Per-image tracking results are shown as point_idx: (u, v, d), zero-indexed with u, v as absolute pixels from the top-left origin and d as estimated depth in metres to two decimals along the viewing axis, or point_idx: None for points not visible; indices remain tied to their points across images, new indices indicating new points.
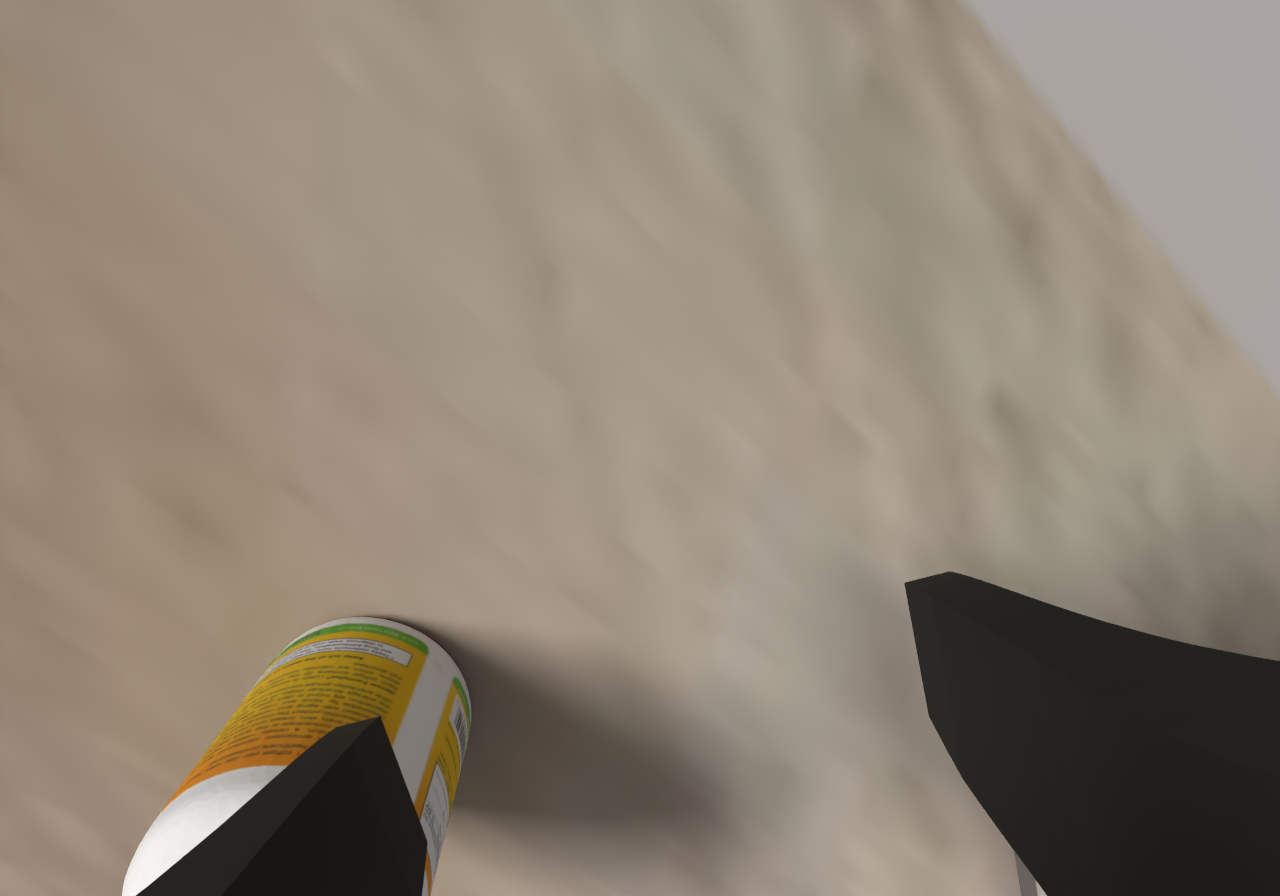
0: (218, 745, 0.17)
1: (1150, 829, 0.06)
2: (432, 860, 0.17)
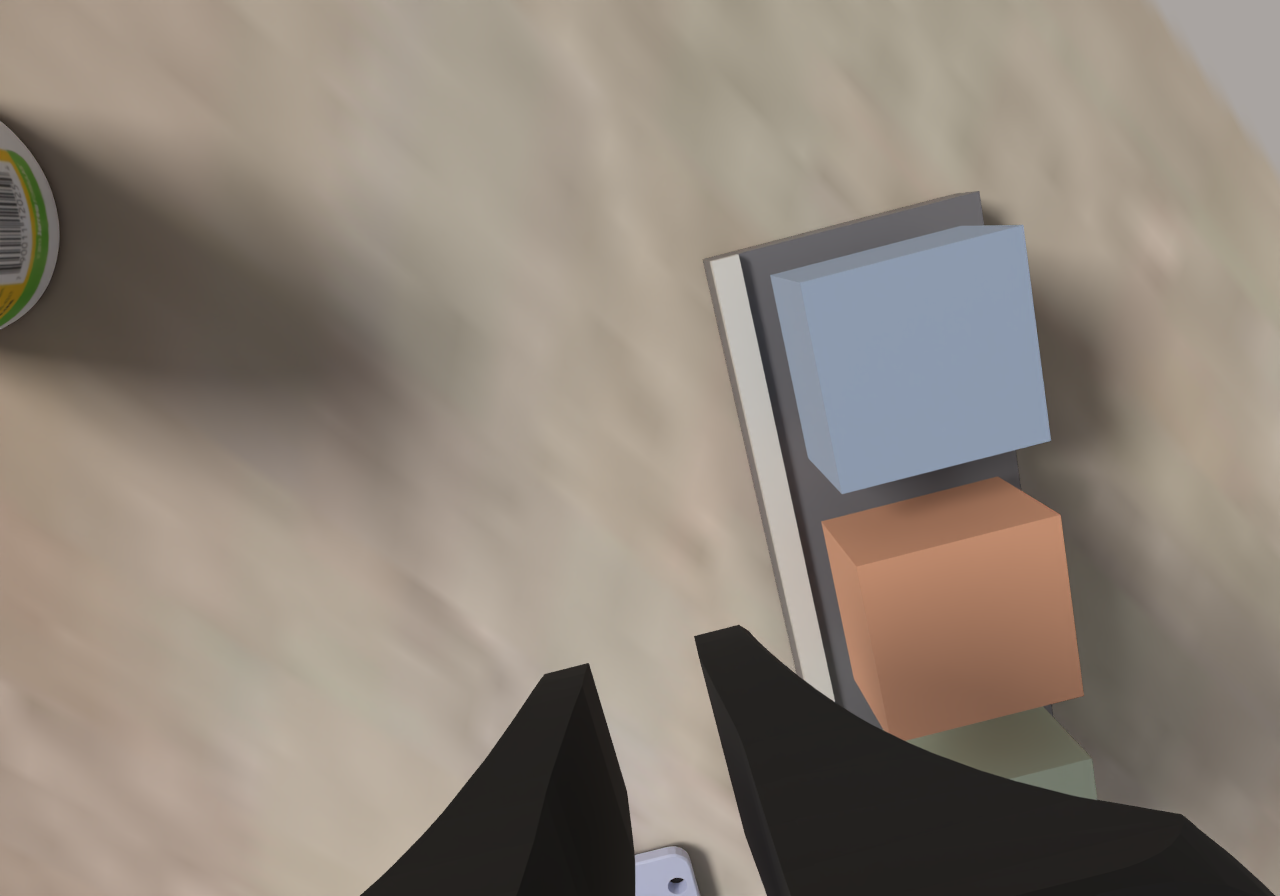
0: None
1: None
2: None
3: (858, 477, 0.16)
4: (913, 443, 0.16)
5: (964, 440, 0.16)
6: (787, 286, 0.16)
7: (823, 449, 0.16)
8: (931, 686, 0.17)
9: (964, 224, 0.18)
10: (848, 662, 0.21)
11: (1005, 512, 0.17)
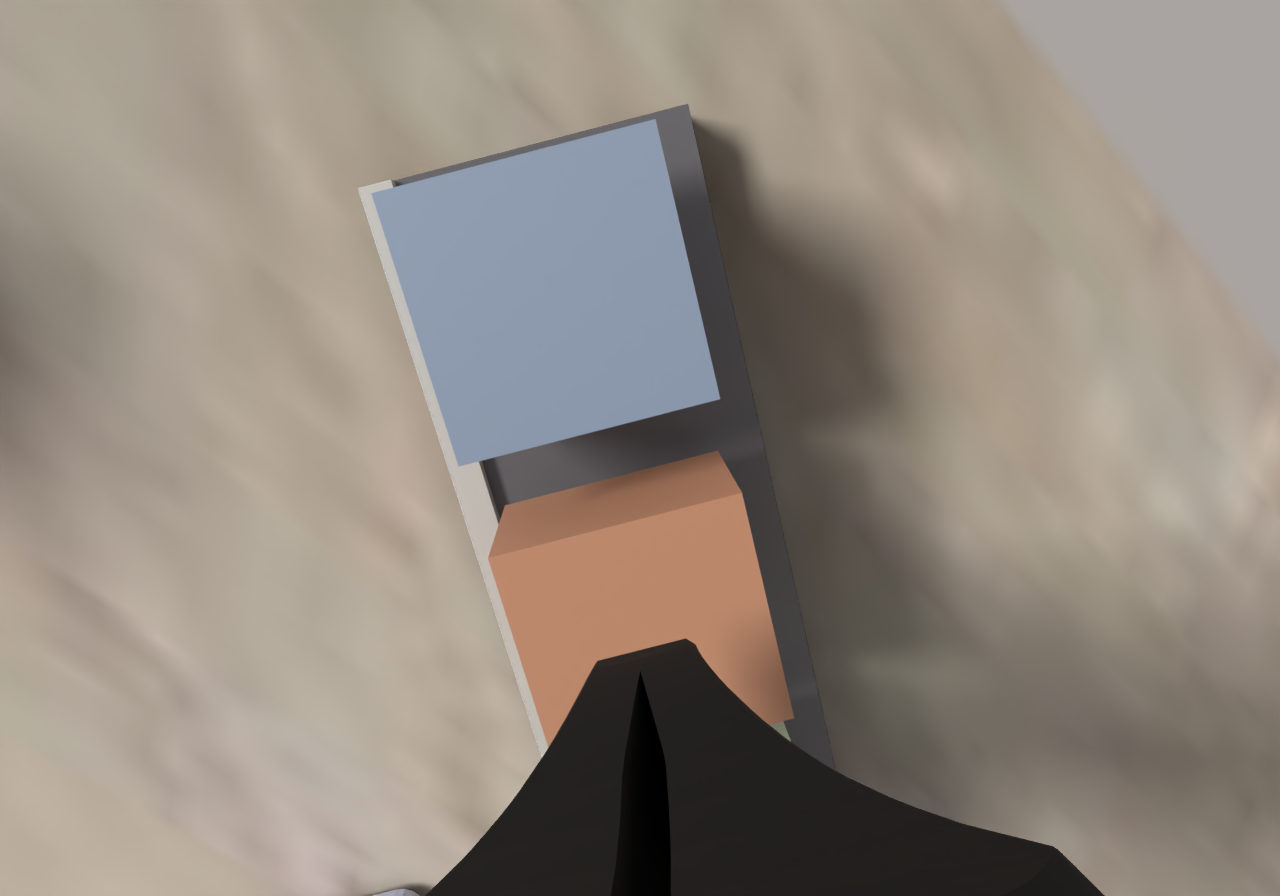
0: None
1: None
2: None
3: (477, 445, 0.12)
4: (543, 402, 0.12)
5: (608, 398, 0.12)
6: None
7: None
8: None
9: (672, 144, 0.15)
10: None
11: (690, 491, 0.14)
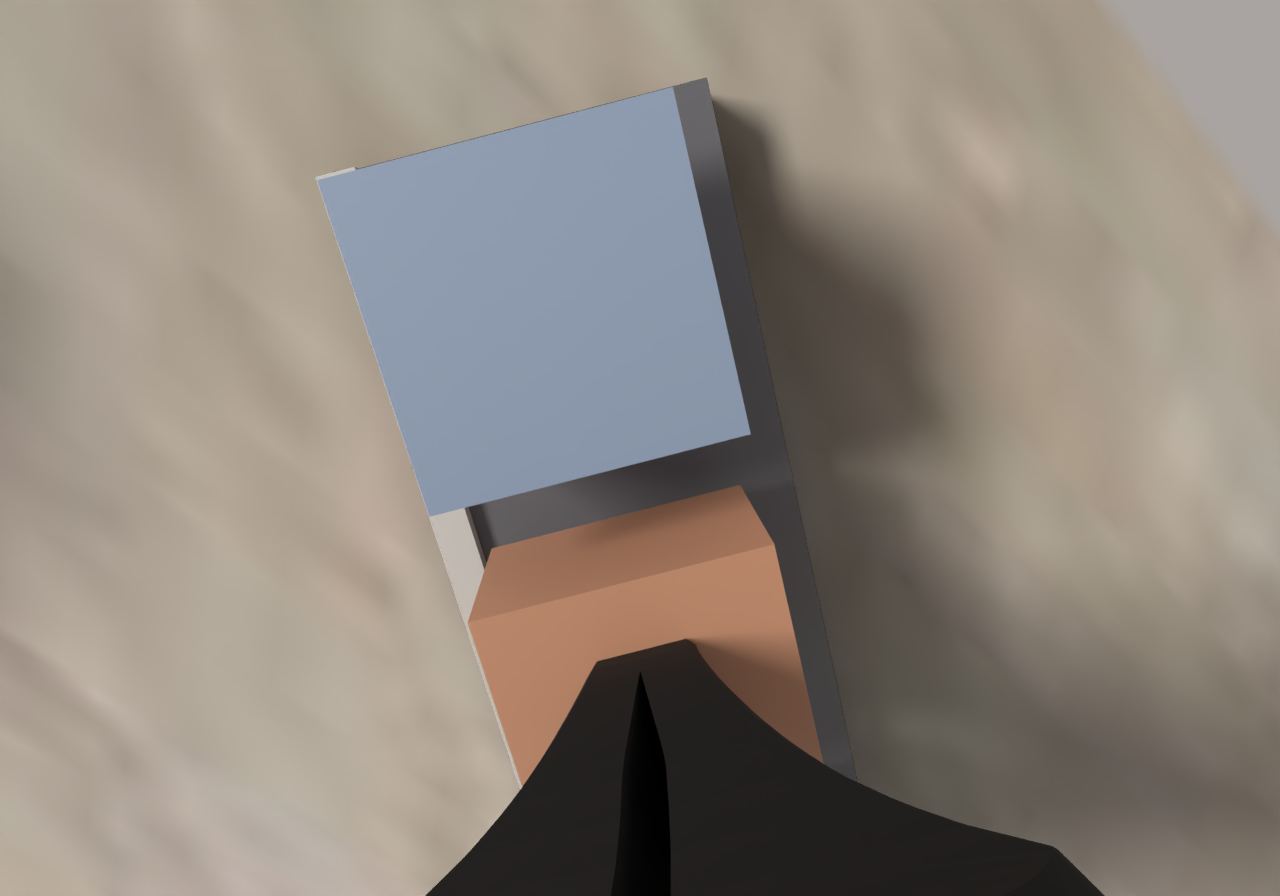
0: None
1: None
2: None
3: (452, 491, 0.10)
4: (533, 438, 0.10)
5: (613, 433, 0.10)
6: None
7: None
8: None
9: (688, 126, 0.13)
10: None
11: (710, 539, 0.11)
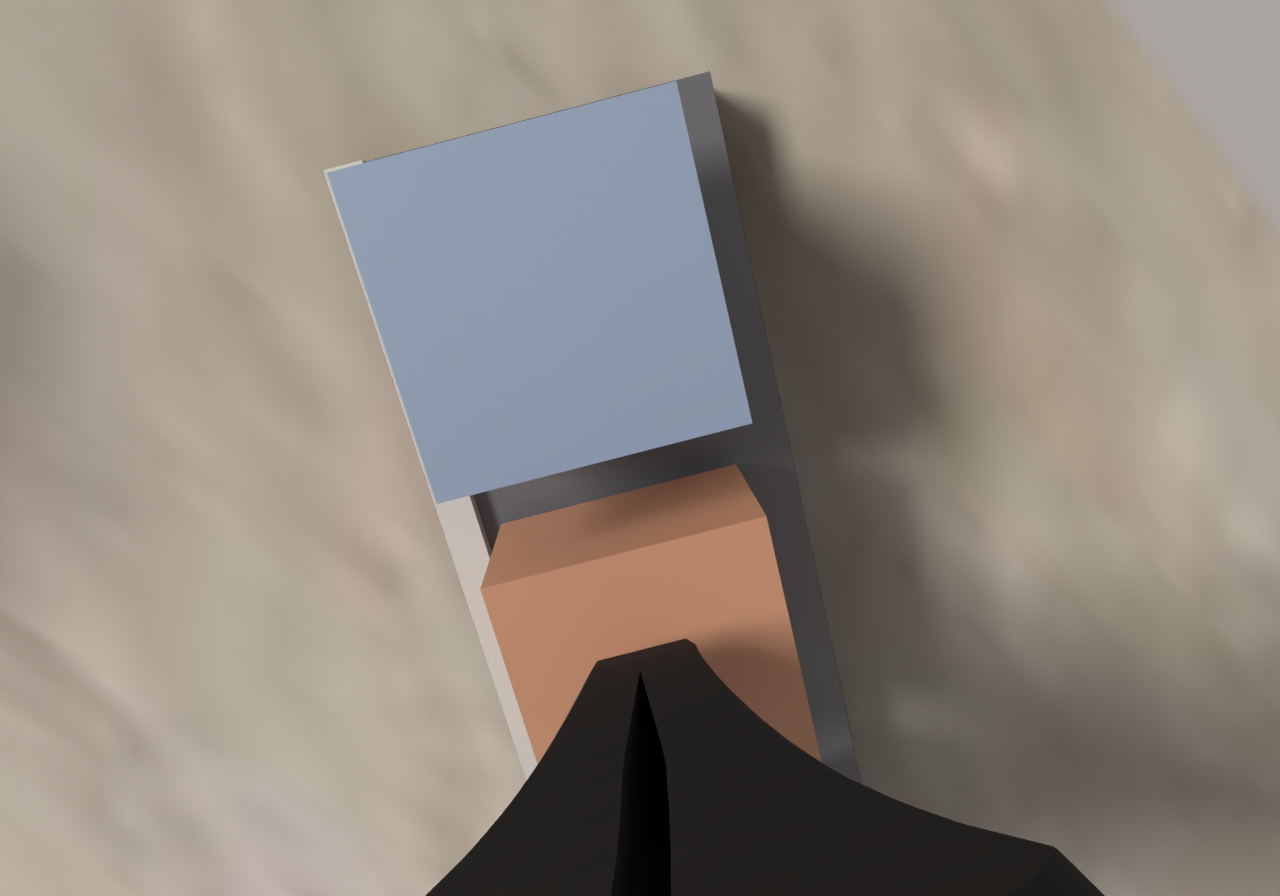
0: None
1: None
2: None
3: (459, 478, 0.10)
4: (538, 427, 0.10)
5: (617, 422, 0.10)
6: None
7: None
8: None
9: (691, 119, 0.13)
10: None
11: (707, 512, 0.12)
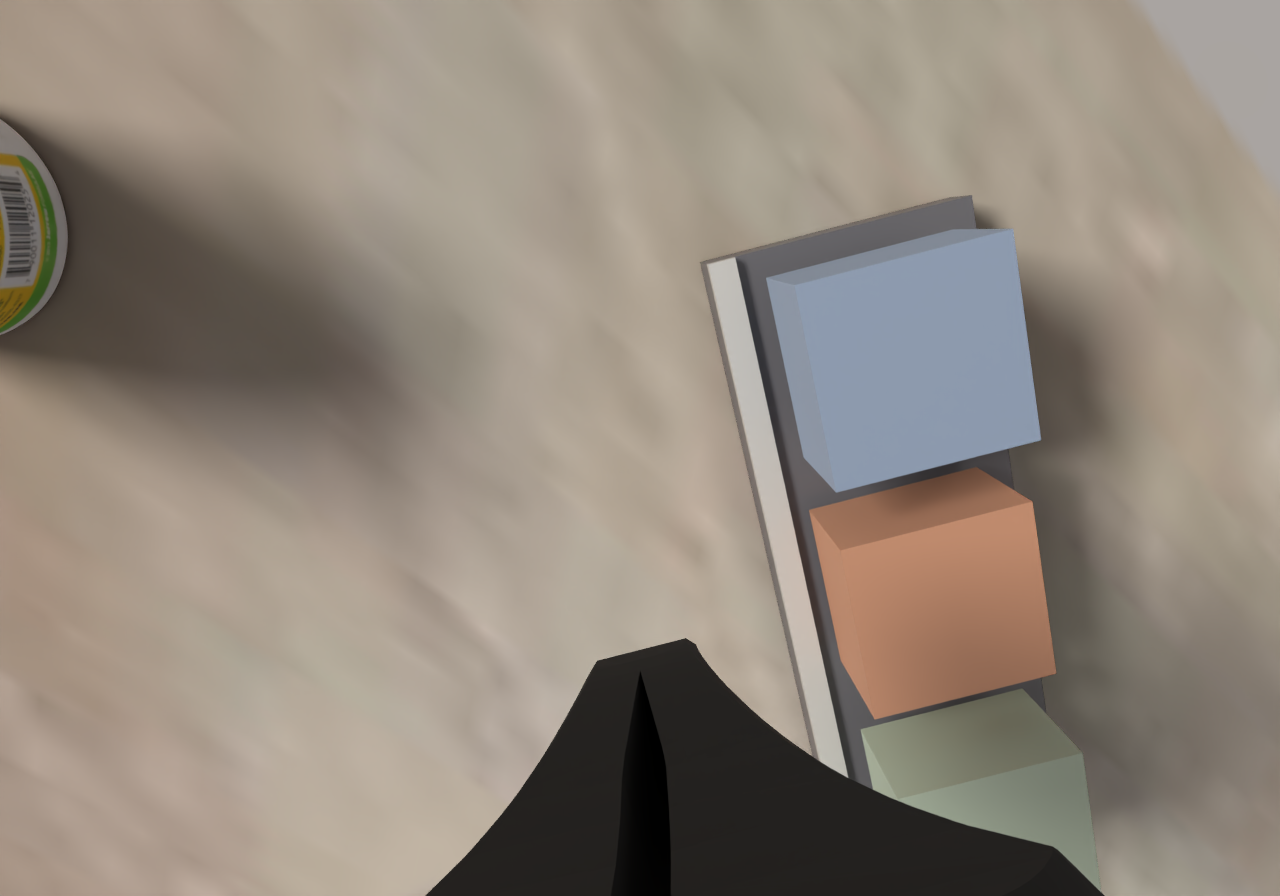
0: None
1: None
2: None
3: (852, 476, 0.16)
4: (906, 442, 0.16)
5: (956, 439, 0.16)
6: (782, 288, 0.16)
7: (818, 448, 0.17)
8: (912, 664, 0.18)
9: (957, 227, 0.19)
10: None
11: (981, 499, 0.18)
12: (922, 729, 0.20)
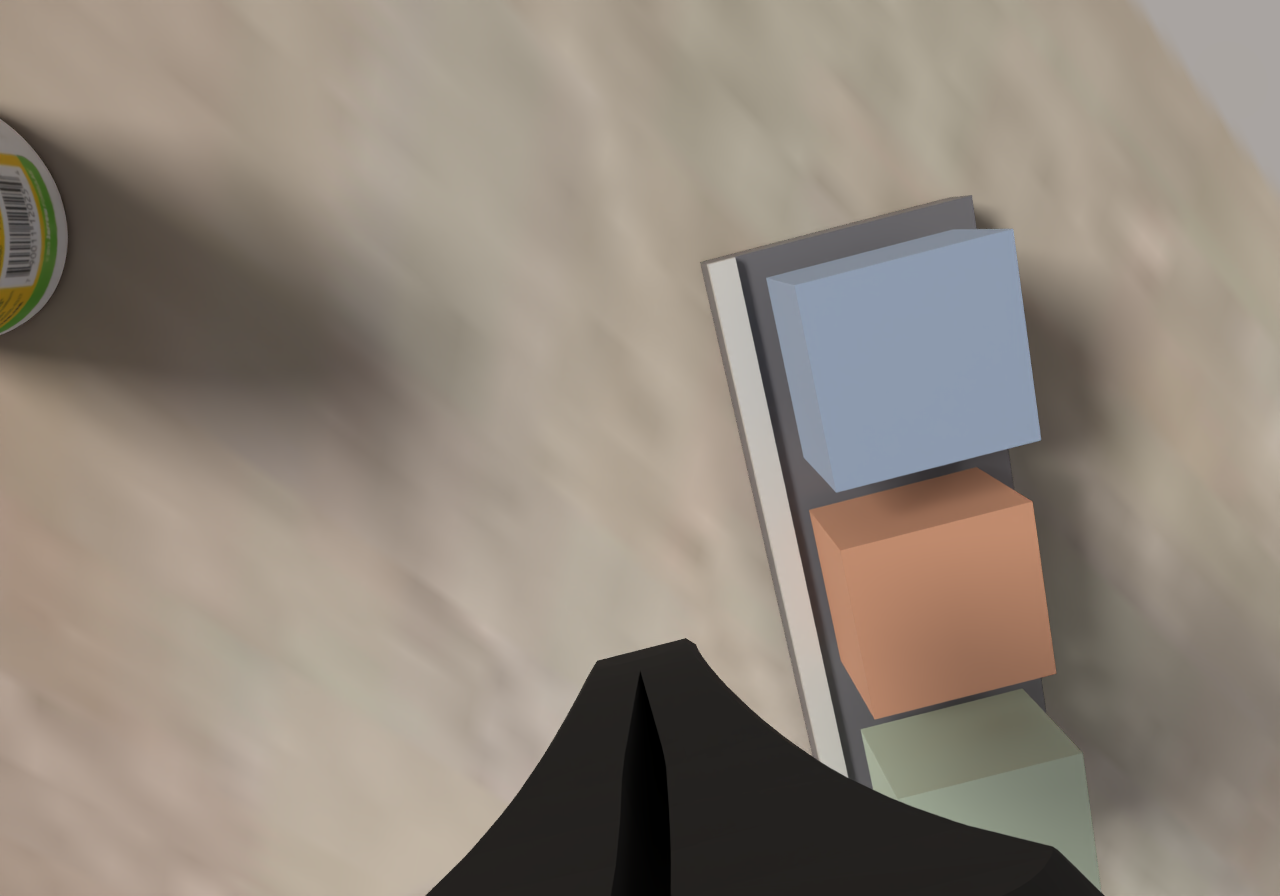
0: None
1: None
2: None
3: (852, 476, 0.16)
4: (906, 442, 0.16)
5: (956, 439, 0.16)
6: (782, 288, 0.16)
7: (818, 448, 0.17)
8: (912, 664, 0.18)
9: (957, 227, 0.19)
10: None
11: (981, 499, 0.18)
12: (922, 729, 0.20)
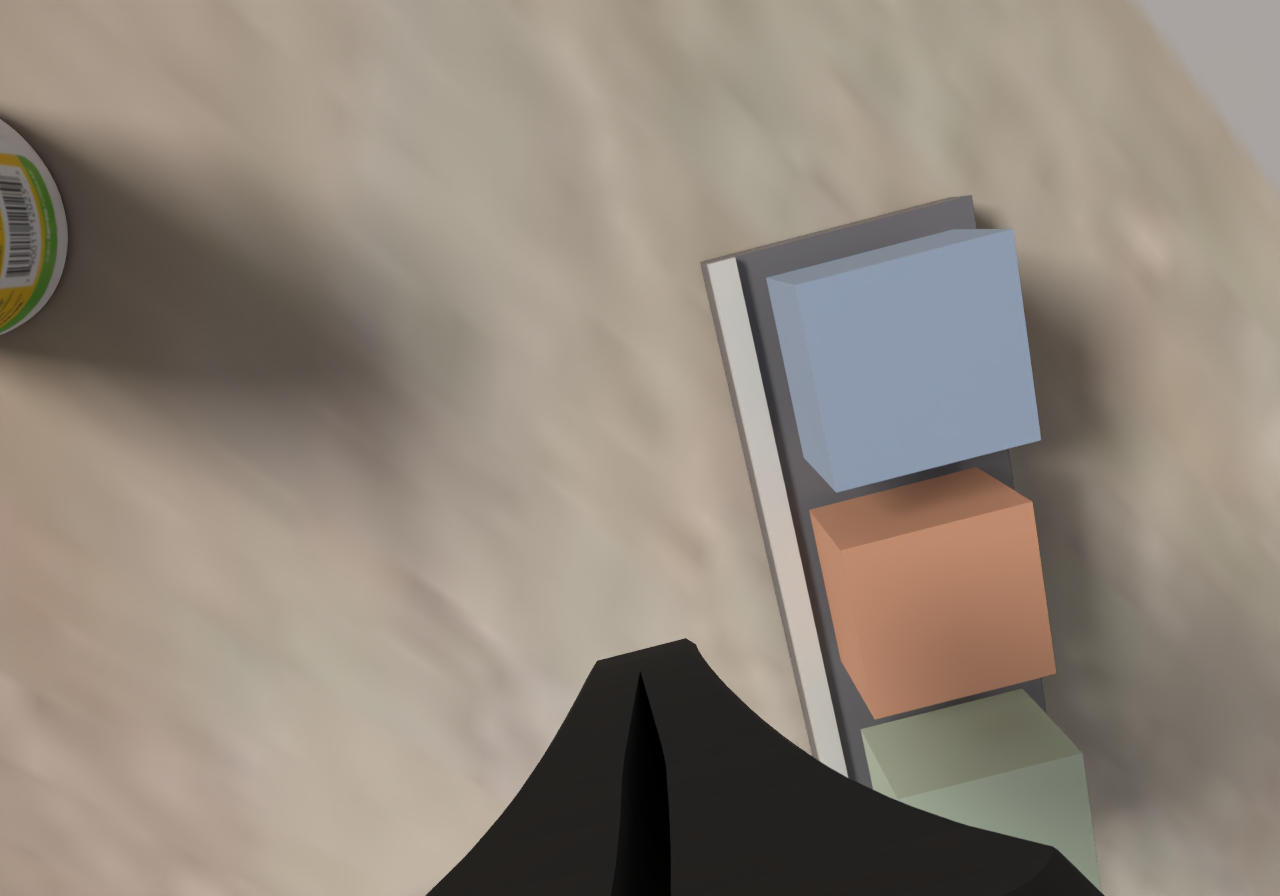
0: None
1: None
2: None
3: (852, 476, 0.16)
4: (906, 442, 0.16)
5: (956, 439, 0.16)
6: (782, 288, 0.16)
7: (818, 448, 0.17)
8: (912, 664, 0.18)
9: (957, 227, 0.19)
10: None
11: (981, 499, 0.18)
12: (922, 729, 0.20)
